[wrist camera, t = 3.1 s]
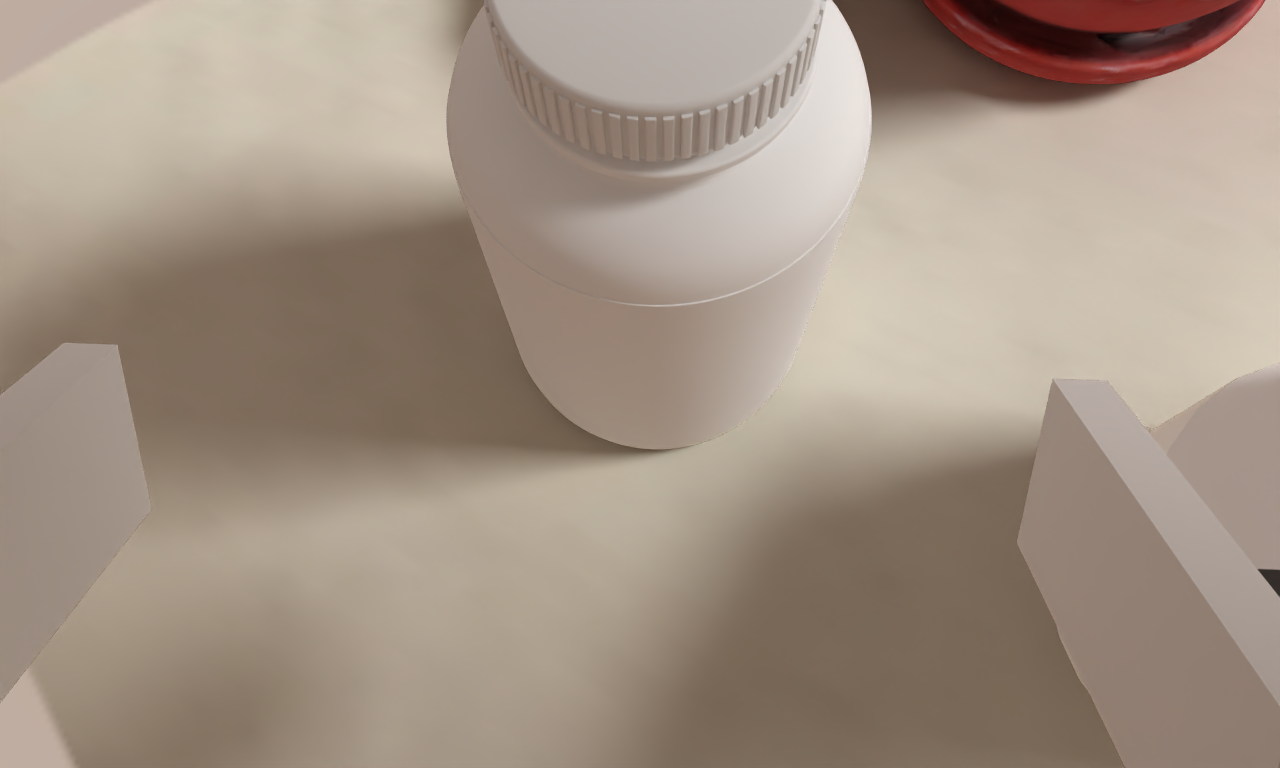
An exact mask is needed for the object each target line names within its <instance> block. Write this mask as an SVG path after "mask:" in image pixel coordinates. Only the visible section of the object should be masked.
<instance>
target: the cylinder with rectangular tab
mask: <svg viewBox="0 0 1280 768" xmlns="http://www.w3.org/2000/svg"><path fill="white" fill-rule="evenodd" d="M1149 433H1150V434H1151V436H1152V437H1153V438H1154V440H1155V441H1156V442H1157V443H1158V445H1159V446H1160V447H1161V448H1162V450H1163V451H1164V452H1165V453H1166V455H1167V456H1168V457H1169V458H1170V460H1171V461H1172V462H1173V463H1174V465H1175V466H1176V467H1177V469H1178V470H1179V471H1180V472H1181V474H1182V475H1183V476H1184V477H1185V479H1186V480H1187V481H1188V482H1189V484H1190V485H1191V486H1192V487H1193V489H1194V490H1195V491H1196V492H1197V494H1198V495H1199V496H1200V498H1201V499H1202V500H1203V501H1204V503H1205V504H1206V505H1207V506H1208V508H1209V509H1210V510H1211V511H1212V513H1213V514H1214V515H1215V516H1216V518H1217V519H1218V520H1219V522H1220V523H1221V524H1222V525H1223V527H1224V528H1225V529H1226V530H1227V532H1228V533H1229V534H1230V535H1231V537H1232V538H1233V539H1234V540H1235V542H1236V543H1237V544H1238V545H1239V547H1240V548H1241V549H1242V551H1243V552H1244V553H1245V554H1246V556H1247V557H1248V558H1249V559H1250V561H1251V562H1252V563H1253V564H1254V566H1255V567H1256V568H1257V569H1273V570H1280V363H1277V364H1274V365H1272V366H1269V367H1266V368H1264V369H1261V370H1258V371H1255V372H1253V373H1250V374H1247V375H1245V376H1242V377H1239V378H1237V379H1235V380H1233V381H1232V382H1230V383H1229V384H1227V385H1225V386H1224V387H1222V388H1220V389H1219V390H1217V391H1215V392H1214V393H1212V394H1211V395H1209V396H1207V397H1206V398H1204V399H1202V400H1201V401H1199V402H1197V403H1196V404H1194V405H1192V406H1191V407H1189V408H1188V409H1186V410H1184V411H1183V412H1181V413H1179V414H1178V415H1176V416H1174V417H1173V418H1171V419H1170V420H1168V421H1166V422H1165V423H1163V424H1161V425H1160V426H1158V427H1156V428H1155V429H1153V430H1152V431H1150V432H1149ZM1057 630H1058V627H1057ZM1058 635H1059V638H1060V640H1061V642H1062V644H1063V646H1064V648H1065V651H1066V653H1067V655H1068V657H1069V659H1070V661H1071V663H1072V665H1073V667H1074V669H1075V672H1076V674H1077V676H1078V678H1079V680H1080V682H1081V683H1082V684H1083V685H1084V687H1085V688H1086V686H1085V684H1084V681H1083V679H1082V677H1081V675H1080V673H1079V671H1078V669H1077V667H1076V665H1075V663H1074V661H1073V659H1072V657H1071V654H1070V652H1069V650H1068V648H1067V646H1066V644H1065V642H1064V640H1063V638H1062V636H1061V634H1060V632H1059V630H1058ZM1086 689H1087V688H1086Z"/></svg>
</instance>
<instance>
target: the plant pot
mask: <svg viewBox="0 0 1280 768" xmlns="http://www.w3.org/2000/svg"><path fill="white" fill-rule="evenodd" d="M923 2H924V3H925V4H926V6H927V7H928V8H929V9H930V11H931V12H932V13H933V14H934V15H935V16H936V17H937V18H938V19H939V20H940V21H941V22H942V23H943V24H944V25H945V26H946V27H947V28H948V29H949V30H950V31H952V32H953V33H954V34H955V35H956V36H958V37H959V38H960V39H961V40H962V41H964V42H965V43H966V44H968V45H969V46H971V47H972V48H974V49H975V50H977V51H979V52H980V53H982V54H984V55H985V56H987V57H989V58H991V59H993V60H995V61H997V62H999V63H1001V64H1003V65H1005V66H1008V67H1010V68H1013V69H1016V70H1018V71H1021V72H1024V73H1027V74H1030V75H1033V76H1038V77H1042V78H1046V79H1051V80H1055V81H1063V82H1070V83H1089V84H1117V83H1126V82H1131V81H1137V80H1143V79H1148V78H1152V77H1156V76H1159V75H1163V74H1166V73H1169V72H1172V71H1174V70H1177V69H1180V68H1182V67H1185V66H1187V65H1189V64H1191V63H1194V62H1196V61H1198V60H1200V59H1201V58H1203V57H1205V56H1206V55H1208V54H1210V53H1211V52H1213V51H1214V50H1216V49H1217V48H1219V47H1220V46H1222V45H1223V44H1224V43H1226V42H1227V41H1228V40H1230V39H1231V38H1232V37H1233V36H1234V35H1236V34H1237V33H1238V32H1239V31H1240V30H1241V29H1242V28H1243V27H1244V26H1245V25H1246V24H1247V23H1248V22H1249V21H1250V20H1251V19H1252V18H1253V16H1254V15H1255V14H1256V13H1257V11H1258V10H1259V9H1260V8H1261V6H1262V5H1263V3H1264V2H1265V0H923Z"/></svg>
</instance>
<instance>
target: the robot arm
mask: <svg viewBox="0 0 1280 768" xmlns="http://www.w3.org/2000/svg"><path fill="white" fill-rule="evenodd" d="M151 509H152V508H151V503H150V498H149V493H148V488H147V484H146V479H145V474H144V469H143V464H142V460H141V455H140V450H139V445H138V440H137V436H136V431H135V426H134V421H133V416H132V412H131V407H130V402H129V397H128V392H127V388H126V383H125V378H124V373H123V369H122V364H121V359H120V354H119V349H118V345H115V344H88V343H63V344H61V345H60V346H59V347H58V348H57V349H55V350H54V351H53V352H52V353H50V354H49V355H48V356H47V357H46V358H44V359H43V360H42V361H41V362H40V363H38V364H37V365H36V366H35V367H34V368H32V369H31V370H30V371H29V372H27V373H26V374H25V375H24V376H23V377H21V378H20V379H19V380H18V381H17V382H15V383H14V384H13V385H12V386H10V387H9V388H8V389H7V390H6V391H4V392H3V393H2V394H1V395H0V702H1V701H2V700H3V699H4V697H5V696H6V695H7V694H8V692H9V691H10V690H11V688H12V687H13V686H14V685H15V683H16V682H17V681H18V680H19V678H20V677H21V676H22V674H23V673H24V672H25V671H26V669H27V668H28V667H29V665H30V664H31V663H32V662H33V660H34V659H35V658H36V656H37V655H38V654H39V653H40V651H41V650H42V649H43V648H44V646H45V645H46V644H47V642H48V641H49V640H50V639H51V637H52V636H53V635H54V633H55V632H56V631H57V630H58V628H59V627H60V626H61V625H62V623H63V622H64V621H65V619H66V618H67V617H68V616H69V614H70V613H71V612H72V610H73V609H74V608H75V607H76V605H77V604H78V603H79V601H80V600H81V599H82V598H83V596H84V595H85V594H86V593H87V591H88V590H89V589H90V587H91V586H92V585H93V584H94V582H95V581H96V580H97V578H98V577H99V576H100V575H101V573H102V572H103V571H104V570H105V568H106V567H107V566H108V564H109V563H110V562H111V561H112V559H113V558H114V557H115V555H116V554H117V553H118V552H119V550H120V549H121V548H122V546H123V545H124V544H125V543H126V541H127V540H128V539H129V538H130V536H131V535H132V534H133V532H134V531H135V530H136V529H137V527H138V526H139V525H140V523H141V522H142V521H143V520H144V518H145V517H146V516H147V515H148V513H149V512H150V511H151ZM1017 544H1018V546H1019V548H1020V551H1021V553H1022V555H1023V557H1024V559H1025V561H1026V563H1027V565H1028V567H1029V569H1030V571H1031V573H1032V575H1033V578H1034V580H1035V582H1036V584H1037V586H1038V588H1039V590H1040V592H1041V594H1042V596H1043V598H1044V600H1045V603H1046V605H1047V607H1048V609H1049V611H1050V613H1051V615H1052V617H1053V619H1054V621H1055V623H1056V625H1057V627H1058V630H1059V632H1060V634H1061V636H1062V638H1063V640H1064V642H1065V644H1066V646H1067V648H1068V650H1069V652H1070V654H1071V657H1072V659H1073V661H1074V663H1075V665H1076V667H1077V669H1078V671H1079V673H1080V675H1081V677H1082V679H1083V681H1084V684H1085V686H1086V688H1087V690H1088V692H1089V694H1090V696H1091V698H1092V700H1093V702H1094V704H1095V706H1096V708H1097V711H1098V713H1099V715H1100V717H1101V719H1102V721H1103V723H1104V725H1105V727H1106V729H1107V731H1108V733H1109V735H1110V738H1111V740H1112V742H1113V744H1114V746H1115V748H1116V750H1117V752H1118V754H1119V756H1120V758H1121V760H1122V762H1123V765H1124V767H1125V768H1280V570H1273V569H1257V568H1256V567H1255V566H1254V564H1253V563H1252V562H1251V561H1250V559H1249V558H1248V557H1247V556H1246V554H1245V553H1244V552H1243V551H1242V549H1241V548H1240V547H1239V545H1238V544H1237V543H1236V542H1235V540H1234V539H1233V538H1232V537H1231V535H1230V534H1229V533H1228V532H1227V530H1226V529H1225V528H1224V527H1223V525H1222V524H1221V523H1220V522H1219V520H1218V519H1217V518H1216V516H1215V515H1214V514H1213V513H1212V511H1211V510H1210V509H1209V508H1208V506H1207V505H1206V504H1205V503H1204V501H1203V500H1202V499H1201V498H1200V496H1199V495H1198V494H1197V492H1196V491H1195V490H1194V489H1193V487H1192V486H1191V485H1190V484H1189V482H1188V481H1187V480H1186V479H1185V477H1184V476H1183V475H1182V474H1181V472H1180V471H1179V470H1178V469H1177V467H1176V466H1175V465H1174V463H1173V462H1172V461H1171V460H1170V458H1169V457H1168V456H1167V455H1166V453H1165V452H1164V451H1163V450H1162V448H1161V447H1160V446H1159V445H1158V443H1157V442H1156V441H1155V440H1154V438H1153V437H1152V436H1151V434H1150V433H1149V432H1148V431H1147V429H1146V428H1145V427H1144V426H1143V424H1142V423H1141V422H1140V421H1139V419H1138V418H1137V417H1136V416H1135V414H1134V413H1133V412H1132V410H1131V409H1130V408H1129V407H1128V405H1127V404H1126V403H1125V402H1124V400H1123V399H1122V398H1121V397H1120V395H1119V394H1118V393H1117V392H1116V390H1115V389H1114V388H1113V387H1112V385H1111V384H1110V383H1109V381H1102V380H1074V379H1052V384H1051V388H1050V393H1049V397H1048V402H1047V406H1046V411H1045V416H1044V420H1043V425H1042V429H1041V434H1040V438H1039V443H1038V448H1037V452H1036V457H1035V461H1034V466H1033V470H1032V475H1031V479H1030V484H1029V489H1028V493H1027V498H1026V502H1025V507H1024V511H1023V516H1022V521H1021V525H1020V530H1019V534H1018V539H1017Z"/></svg>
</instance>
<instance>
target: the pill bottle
mask: <svg viewBox="0 0 1280 768" xmlns="http://www.w3.org/2000/svg"><path fill="white" fill-rule="evenodd" d="M483 2H484V5H483V7H482V8H481V9H480V11H479V13H478V14H477V16H476V17H475V19H474V21H473V23H472V24H471V26H470V28H469V30H468V32H467V34H466V36H465V38H464V41H463V43H462V46H461V48H460V51H459V54H458V57H457V60H456V63H455V67H454V71H453V75H452V80H451V84H450V89H449V95H448V103H447V138H448V145H449V151H450V157H451V161H452V165H453V169H454V173H455V176H456V180H457V183H458V186H459V189H460V192H461V194H462V197H463V200H464V203H465V205H466V208H467V211H468V214H469V216H470V219H471V222H472V225H473V227H474V230H475V233H476V236H477V238H478V241H479V244H480V246H481V249H482V252H483V255H484V257H485V260H486V263H487V266H488V268H489V271H490V274H491V277H492V279H493V282H494V285H495V288H496V290H497V293H498V296H499V298H500V301H501V304H502V307H503V309H504V312H505V315H506V318H507V320H508V323H509V326H510V329H511V331H512V334H513V337H514V340H515V342H516V345H517V348H518V350H519V353H520V356H521V358H522V361H523V363H524V365H525V367H526V369H527V371H528V373H529V375H530V376H531V378H532V380H533V381H534V383H535V384H536V385H537V387H538V388H539V390H540V391H541V392H542V393H543V395H544V396H545V397H546V398H547V399H548V401H549V402H550V403H551V404H552V405H553V406H554V407H555V408H556V409H557V410H558V411H559V412H560V413H561V414H563V415H564V416H565V417H566V418H567V419H569V420H570V421H571V422H573V423H574V424H576V425H577V426H579V427H580V428H582V429H584V430H585V431H587V432H589V433H591V434H593V435H595V436H597V437H600V438H602V439H605V440H607V441H610V442H613V443H617V444H620V445H624V446H629V447H635V448H642V449H673V448H681V447H687V446H691V445H695V444H699V443H702V442H706V441H708V440H711V439H714V438H716V437H718V436H720V435H723V434H725V433H727V432H728V431H730V430H732V429H734V428H735V427H737V426H738V425H740V424H741V423H743V422H744V421H746V420H747V419H748V418H750V417H751V416H752V415H753V414H754V413H755V412H757V411H758V410H759V409H760V408H761V407H762V406H763V405H764V404H765V403H766V401H767V400H768V399H769V398H770V397H771V396H772V394H773V393H774V392H775V391H776V389H777V388H778V387H779V385H780V384H781V382H782V381H783V379H784V378H785V376H786V374H787V373H788V371H789V369H790V367H791V365H792V363H793V361H794V358H795V356H796V353H797V350H798V348H799V345H800V342H801V340H802V337H803V334H804V332H805V329H806V326H807V324H808V321H809V319H810V316H811V313H812V311H813V308H814V305H815V303H816V300H817V297H818V295H819V292H820V289H821V287H822V284H823V281H824V279H825V276H826V273H827V271H828V268H829V265H830V263H831V260H832V257H833V255H834V252H835V250H836V247H837V244H838V242H839V239H840V236H841V234H842V231H843V228H844V226H845V223H846V220H847V218H848V215H849V212H850V210H851V207H852V204H853V202H854V199H855V196H856V194H857V191H858V188H859V185H860V182H861V179H862V176H863V173H864V169H865V165H866V161H867V157H868V152H869V146H870V139H871V128H872V110H871V99H870V92H869V86H868V82H867V76H866V72H865V68H864V64H863V61H862V57H861V54H860V51H859V48H858V46H857V43H856V41H855V39H854V36H853V34H852V32H851V30H850V28H849V26H848V24H847V22H846V21H845V19H844V17H843V16H842V14H841V12H840V11H839V9H838V8H837V6H836V5H835V3H834V2H833V1H832V0H483Z"/></svg>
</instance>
